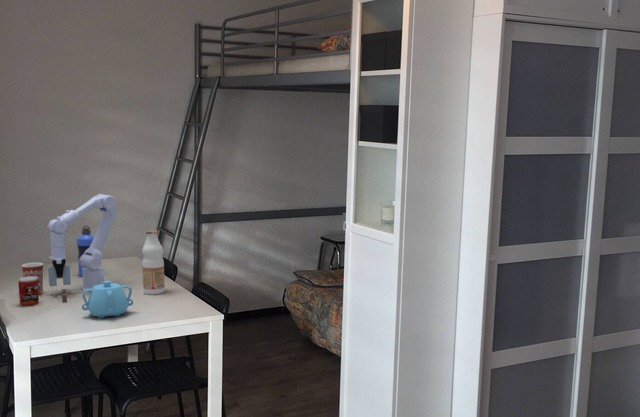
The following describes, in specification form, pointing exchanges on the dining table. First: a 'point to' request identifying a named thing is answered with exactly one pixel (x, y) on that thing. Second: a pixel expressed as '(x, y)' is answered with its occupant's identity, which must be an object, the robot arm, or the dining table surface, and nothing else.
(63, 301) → the rail
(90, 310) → the decorative pot
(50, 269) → the slim blue-grey slab
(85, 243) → the water bottle
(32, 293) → the canned food
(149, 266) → the fruit juice
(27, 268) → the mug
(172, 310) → the dining table surface
